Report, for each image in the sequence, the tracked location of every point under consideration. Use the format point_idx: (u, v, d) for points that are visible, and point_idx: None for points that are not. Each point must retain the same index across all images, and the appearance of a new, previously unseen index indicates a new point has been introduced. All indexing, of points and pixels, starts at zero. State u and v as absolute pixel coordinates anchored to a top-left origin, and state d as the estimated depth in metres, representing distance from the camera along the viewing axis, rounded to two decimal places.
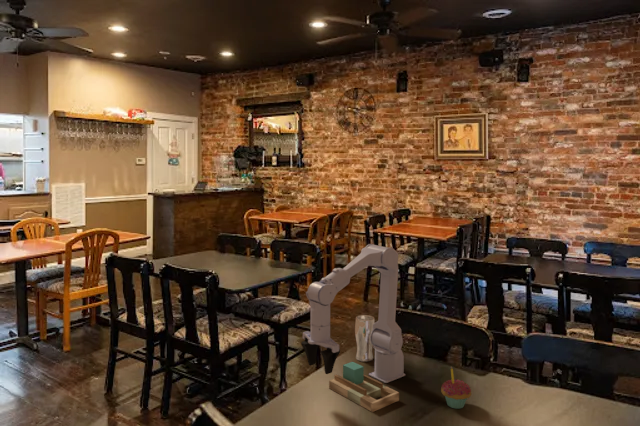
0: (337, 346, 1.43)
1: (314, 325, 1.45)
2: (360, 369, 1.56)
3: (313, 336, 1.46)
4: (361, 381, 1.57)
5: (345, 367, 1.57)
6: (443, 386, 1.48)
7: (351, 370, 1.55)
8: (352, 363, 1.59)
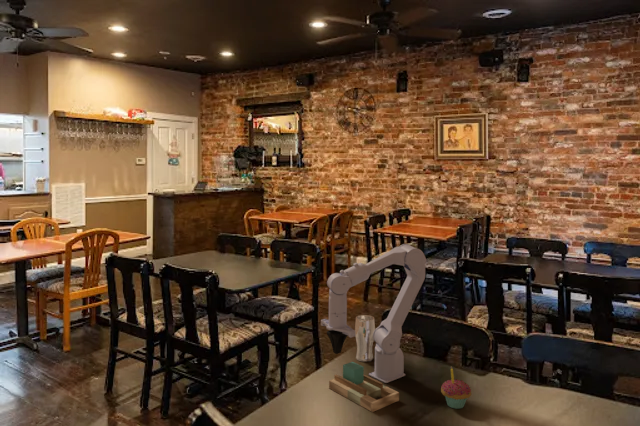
0: (353, 331, 1.56)
1: (329, 311, 1.60)
2: (360, 369, 1.56)
3: (331, 322, 1.60)
4: (361, 381, 1.57)
5: (345, 367, 1.57)
6: (443, 386, 1.48)
7: (351, 370, 1.55)
8: (352, 363, 1.59)
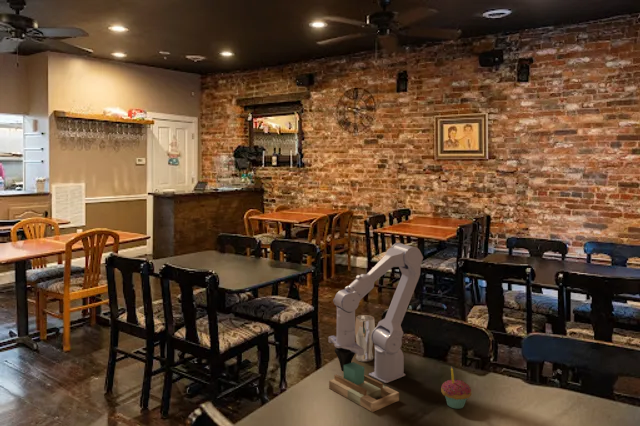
0: (362, 350, 1.54)
1: (338, 330, 1.57)
2: (361, 369, 1.56)
3: (339, 340, 1.57)
4: (362, 381, 1.56)
5: (346, 367, 1.57)
6: (443, 386, 1.48)
7: (352, 370, 1.55)
8: (353, 363, 1.59)
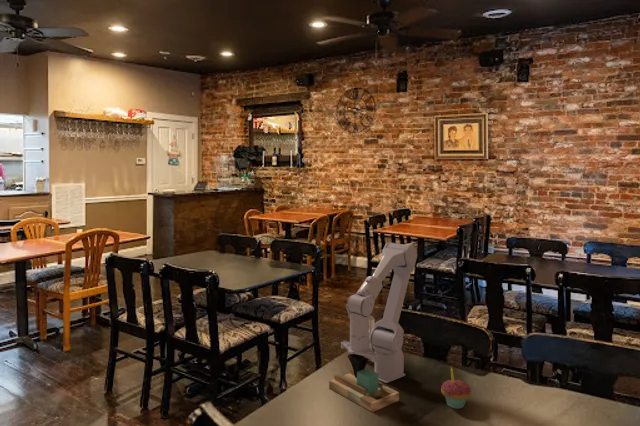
0: (376, 356, 1.49)
1: (355, 336, 1.52)
2: (375, 376, 1.51)
3: (353, 346, 1.52)
4: (376, 389, 1.52)
5: (359, 374, 1.52)
6: (443, 386, 1.48)
7: (366, 377, 1.50)
8: (366, 370, 1.54)
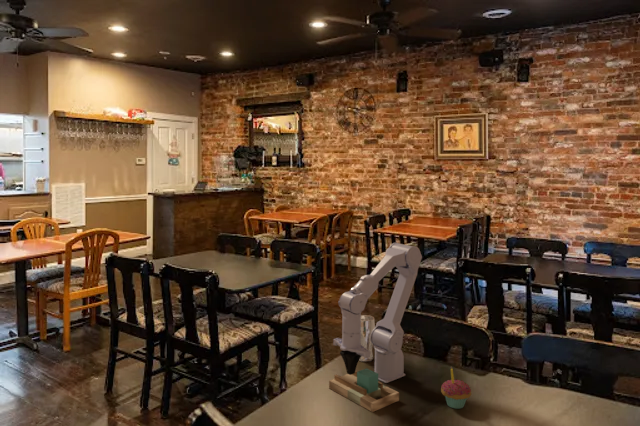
0: (368, 352, 1.52)
1: (345, 332, 1.55)
2: (375, 376, 1.51)
3: (345, 342, 1.55)
4: (376, 389, 1.52)
5: (359, 374, 1.52)
6: (443, 386, 1.48)
7: (366, 377, 1.50)
8: (366, 370, 1.54)
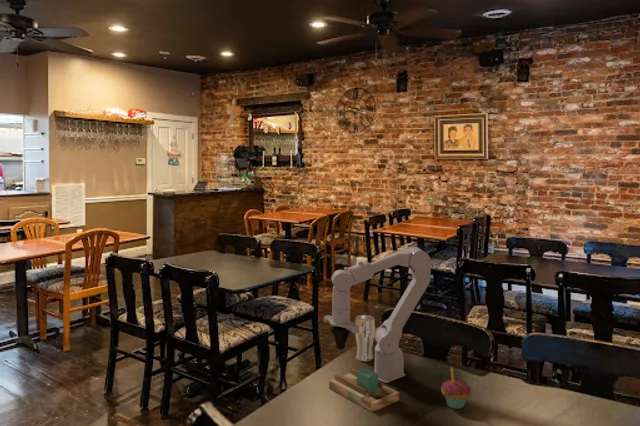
0: (357, 327, 1.59)
1: (332, 307, 1.62)
2: (375, 376, 1.51)
3: (335, 318, 1.62)
4: (376, 389, 1.52)
5: (359, 374, 1.52)
6: (443, 386, 1.48)
7: (366, 377, 1.50)
8: (366, 370, 1.54)
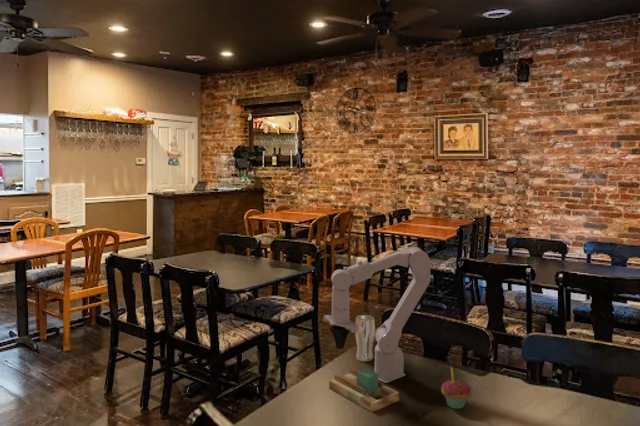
0: (356, 327, 1.59)
1: (332, 307, 1.63)
2: (375, 376, 1.51)
3: (334, 318, 1.62)
4: (376, 389, 1.52)
5: (359, 374, 1.52)
6: (443, 386, 1.48)
7: (366, 377, 1.50)
8: (366, 370, 1.54)
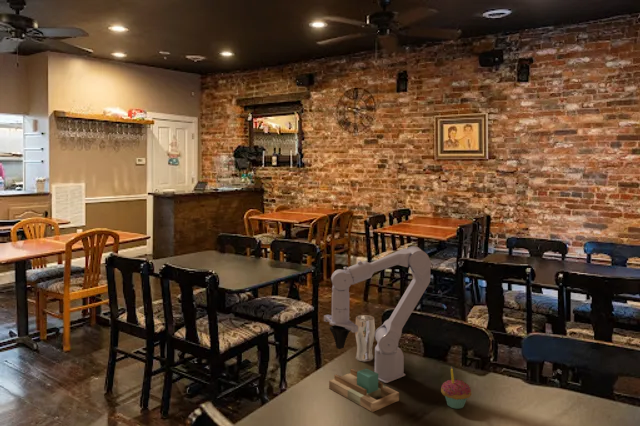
0: (356, 327, 1.59)
1: (332, 307, 1.63)
2: (375, 376, 1.51)
3: (334, 318, 1.62)
4: (376, 389, 1.52)
5: (359, 374, 1.52)
6: (443, 386, 1.48)
7: (366, 377, 1.50)
8: (366, 370, 1.54)
